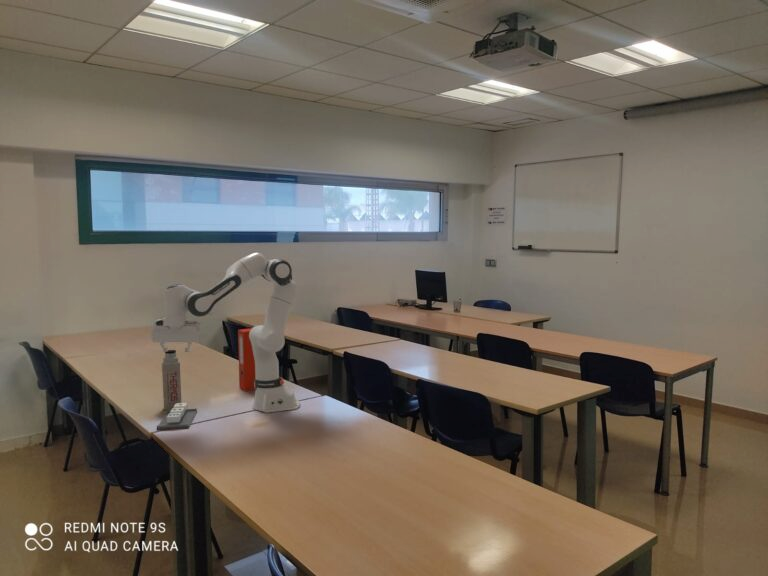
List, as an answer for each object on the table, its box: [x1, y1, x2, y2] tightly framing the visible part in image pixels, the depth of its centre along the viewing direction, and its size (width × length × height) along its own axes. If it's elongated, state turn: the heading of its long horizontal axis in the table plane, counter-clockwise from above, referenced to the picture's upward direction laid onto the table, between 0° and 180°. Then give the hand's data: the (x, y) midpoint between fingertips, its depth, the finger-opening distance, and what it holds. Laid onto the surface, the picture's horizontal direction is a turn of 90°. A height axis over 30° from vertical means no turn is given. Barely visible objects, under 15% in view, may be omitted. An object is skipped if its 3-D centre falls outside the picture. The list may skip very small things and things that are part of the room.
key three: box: [167, 413, 181, 423], centre depth 232 cm, size 5×5×2 cm
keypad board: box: [156, 407, 198, 431], centre depth 239 cm, size 13×21×2 cm, turn 10°
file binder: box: [237, 327, 256, 392], centre depth 290 cm, size 8×17×32 cm, turn 126°
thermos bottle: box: [161, 349, 182, 411], centre depth 255 cm, size 8×8×28 cm
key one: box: [174, 402, 188, 411], centre depth 246 cm, size 5×5×2 cm
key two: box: [170, 408, 185, 416], centre depth 239 cm, size 5×5×2 cm
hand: (176, 351), depth 237 cm, fingers open, 8 cm apart
